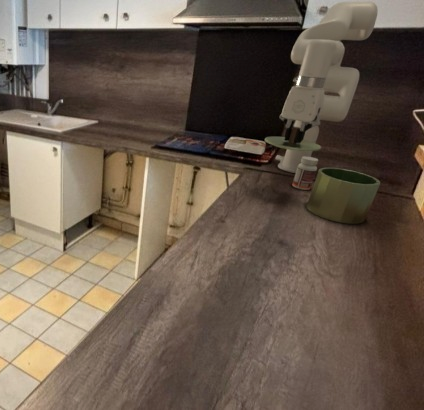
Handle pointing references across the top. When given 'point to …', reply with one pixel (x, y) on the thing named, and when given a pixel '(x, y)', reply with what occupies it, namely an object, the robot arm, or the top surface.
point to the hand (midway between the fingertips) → (292, 141)
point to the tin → (342, 195)
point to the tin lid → (291, 144)
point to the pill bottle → (305, 173)
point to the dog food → (245, 145)
